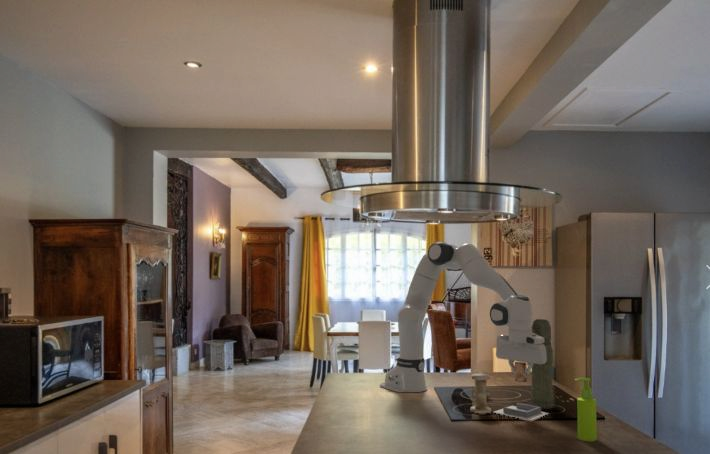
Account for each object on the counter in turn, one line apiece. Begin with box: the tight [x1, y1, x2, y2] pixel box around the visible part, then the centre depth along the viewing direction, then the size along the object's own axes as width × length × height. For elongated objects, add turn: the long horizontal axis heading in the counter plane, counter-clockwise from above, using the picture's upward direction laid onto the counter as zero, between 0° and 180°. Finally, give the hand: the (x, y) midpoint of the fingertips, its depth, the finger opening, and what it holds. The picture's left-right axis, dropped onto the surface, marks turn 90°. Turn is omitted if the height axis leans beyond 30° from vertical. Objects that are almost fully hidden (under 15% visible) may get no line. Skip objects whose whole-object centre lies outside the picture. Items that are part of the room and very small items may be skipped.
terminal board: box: [493, 402, 550, 422], centre depth 228 cm, size 16×14×3 cm
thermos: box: [530, 318, 555, 410], centre depth 241 cm, size 9×12×35 cm
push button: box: [476, 371, 491, 397], centre depth 258 cm, size 7×5×10 cm
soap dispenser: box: [573, 377, 598, 442], centre depth 198 cm, size 6×7×20 cm
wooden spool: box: [469, 373, 492, 415], centre depth 232 cm, size 8×8×14 cm
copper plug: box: [514, 361, 528, 383], centre depth 229 cm, size 4×4×7 cm
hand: (520, 372), depth 229 cm, fingers closed on copper plug, 4 cm apart
